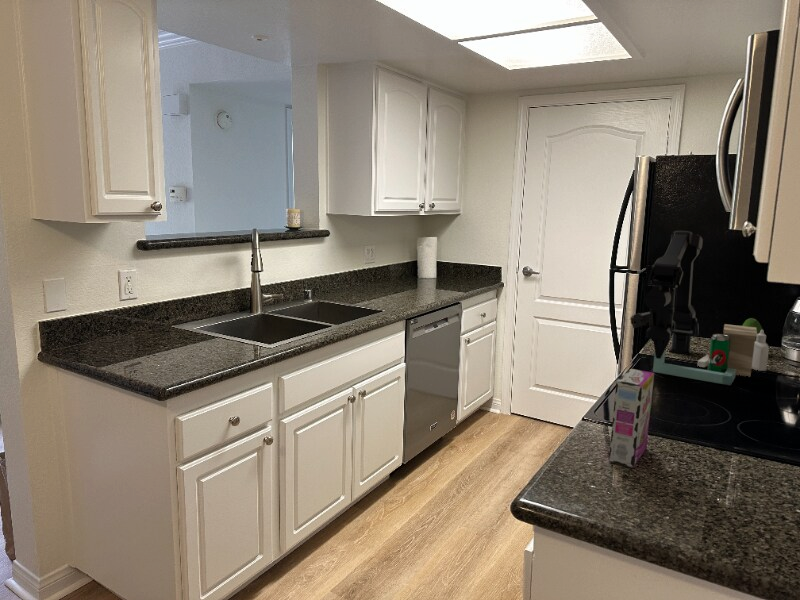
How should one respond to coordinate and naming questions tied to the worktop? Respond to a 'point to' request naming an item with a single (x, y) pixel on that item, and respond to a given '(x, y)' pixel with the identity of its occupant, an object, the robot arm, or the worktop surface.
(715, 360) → the soda can
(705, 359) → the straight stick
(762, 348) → the eye dropper bottle
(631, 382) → the candy bar box
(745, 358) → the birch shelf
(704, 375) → the crook tool
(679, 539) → the worktop surface
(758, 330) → the avocado
